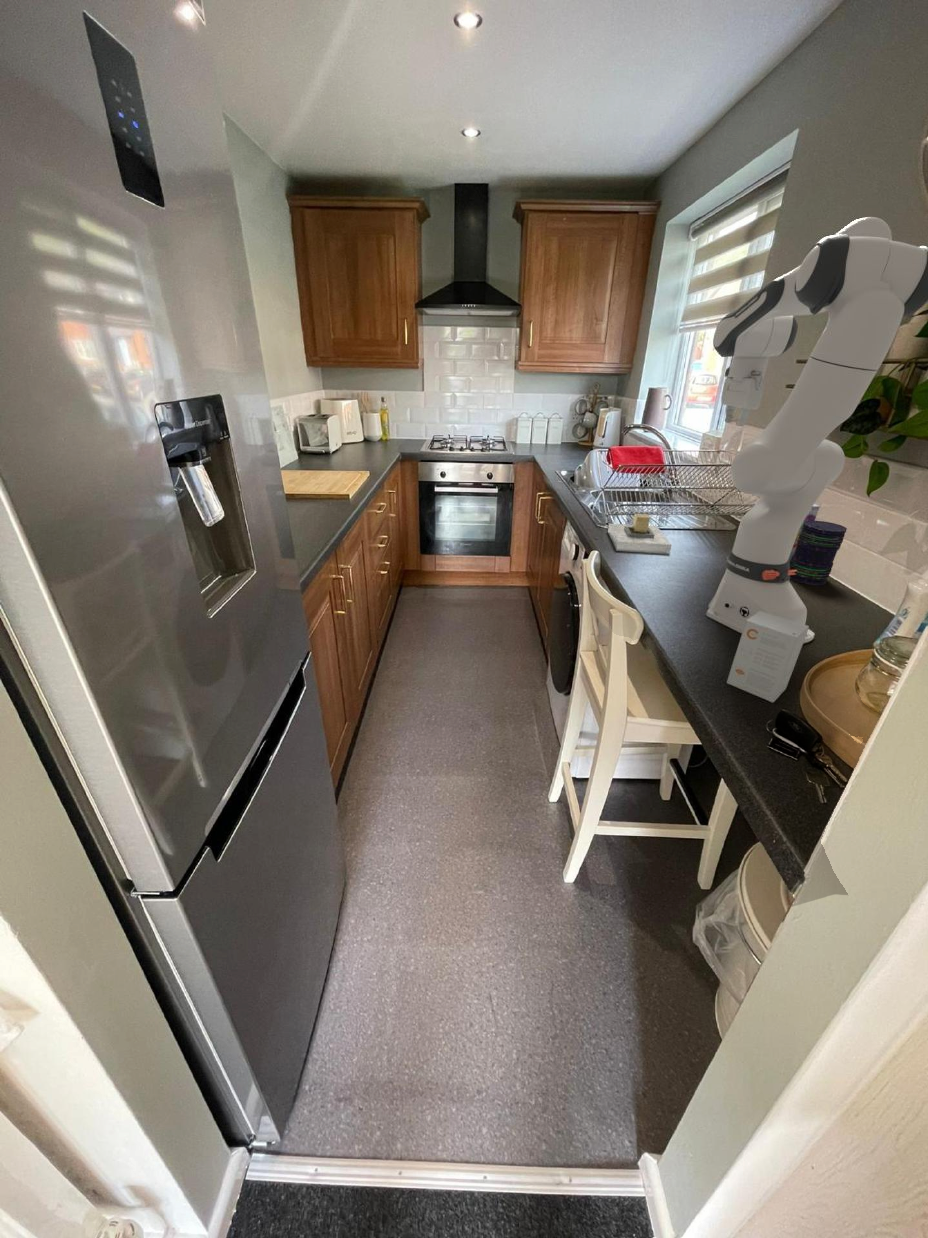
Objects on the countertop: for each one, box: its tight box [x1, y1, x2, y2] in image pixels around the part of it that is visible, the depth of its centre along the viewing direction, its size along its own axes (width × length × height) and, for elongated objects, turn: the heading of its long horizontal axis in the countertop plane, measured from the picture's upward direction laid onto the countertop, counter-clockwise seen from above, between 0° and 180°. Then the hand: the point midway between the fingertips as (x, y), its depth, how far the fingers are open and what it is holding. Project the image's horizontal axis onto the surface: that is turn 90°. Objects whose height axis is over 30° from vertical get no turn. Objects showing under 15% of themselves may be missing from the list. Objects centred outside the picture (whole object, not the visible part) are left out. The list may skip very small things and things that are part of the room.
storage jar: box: [789, 520, 848, 586], centre depth 134 cm, size 10×10×15 cm
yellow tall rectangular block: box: [631, 513, 651, 534], centre depth 160 cm, size 4×4×9 cm
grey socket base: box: [607, 523, 673, 555], centre depth 161 cm, size 20×16×4 cm
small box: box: [726, 611, 810, 703], centre depth 86 cm, size 8×6×13 cm
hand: (733, 424), depth 142 cm, fingers open, 8 cm apart
